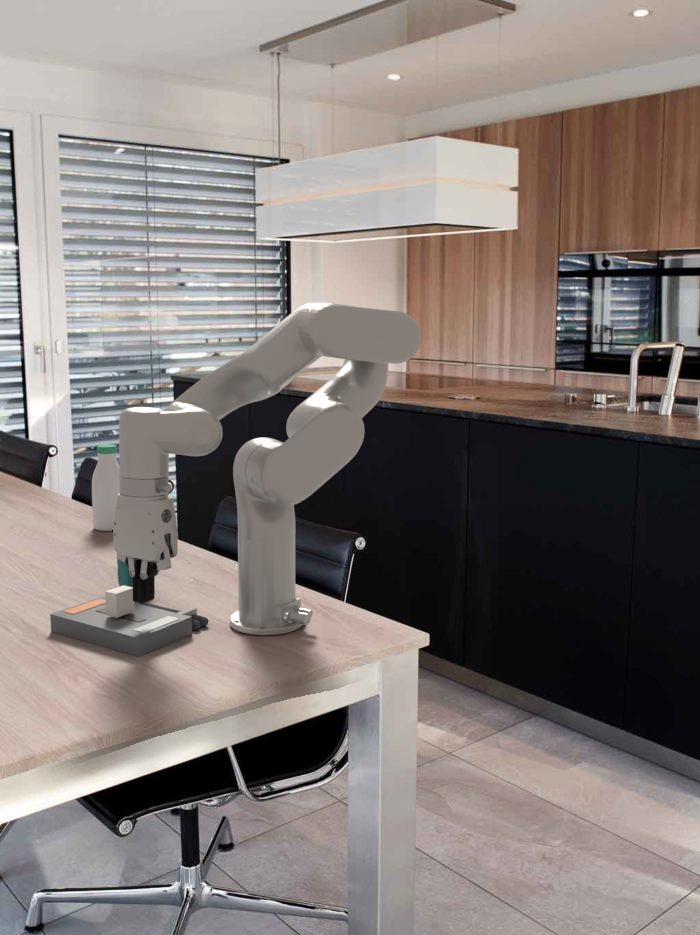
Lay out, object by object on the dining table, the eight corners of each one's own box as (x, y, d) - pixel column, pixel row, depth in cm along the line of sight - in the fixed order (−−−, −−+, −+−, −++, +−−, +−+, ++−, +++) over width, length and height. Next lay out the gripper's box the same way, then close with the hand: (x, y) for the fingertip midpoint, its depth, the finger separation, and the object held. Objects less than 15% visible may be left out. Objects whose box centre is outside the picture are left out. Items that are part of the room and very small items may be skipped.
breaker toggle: (134, 611, 156) (134, 587, 155) (116, 617, 153) (115, 593, 152) (124, 608, 157) (123, 585, 157) (106, 615, 154) (105, 591, 153)
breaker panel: (192, 634, 155) (191, 616, 155) (138, 656, 145) (138, 637, 145) (106, 612, 166) (105, 595, 165) (51, 631, 156) (50, 613, 156)
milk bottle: (122, 532, 223) (119, 448, 220) (89, 531, 223) (85, 447, 220) (130, 524, 231) (127, 443, 227) (98, 524, 231) (95, 442, 227)
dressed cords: (211, 625, 160) (211, 611, 159) (195, 632, 156) (195, 618, 156) (128, 604, 170) (127, 591, 170) (111, 610, 167) (110, 597, 166)
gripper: (196, 490, 147) (195, 604, 150) (127, 478, 155) (127, 586, 158) (162, 496, 141) (161, 615, 144) (92, 484, 149) (92, 597, 152)
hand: (143, 600), depth 151 cm, fingers closed
